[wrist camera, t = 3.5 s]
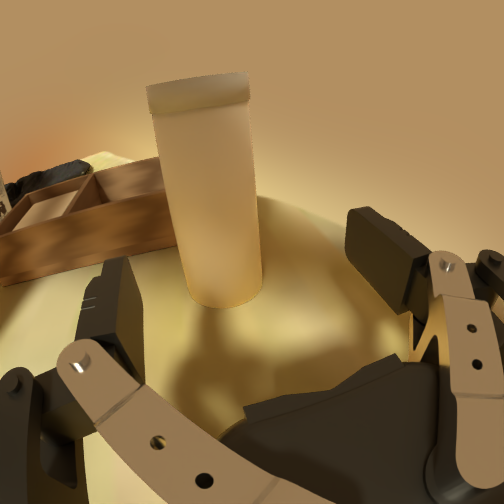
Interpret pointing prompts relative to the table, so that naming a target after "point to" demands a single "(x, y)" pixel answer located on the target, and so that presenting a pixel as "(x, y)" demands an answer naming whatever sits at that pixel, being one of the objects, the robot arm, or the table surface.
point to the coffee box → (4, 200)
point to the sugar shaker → (210, 184)
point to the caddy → (86, 222)
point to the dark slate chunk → (44, 179)
